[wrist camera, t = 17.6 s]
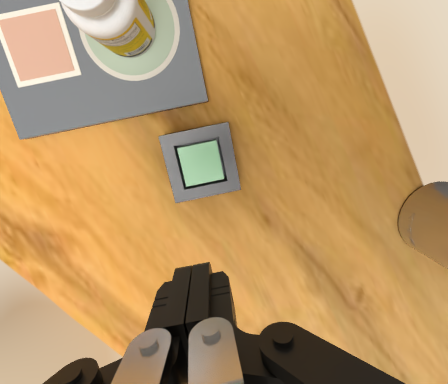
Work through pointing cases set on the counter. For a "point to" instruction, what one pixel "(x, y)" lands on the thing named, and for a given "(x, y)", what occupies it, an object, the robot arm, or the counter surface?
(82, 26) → the supplement bottle
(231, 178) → the button housing
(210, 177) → the button
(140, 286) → the counter surface
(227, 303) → the robot arm
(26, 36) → the picture board
